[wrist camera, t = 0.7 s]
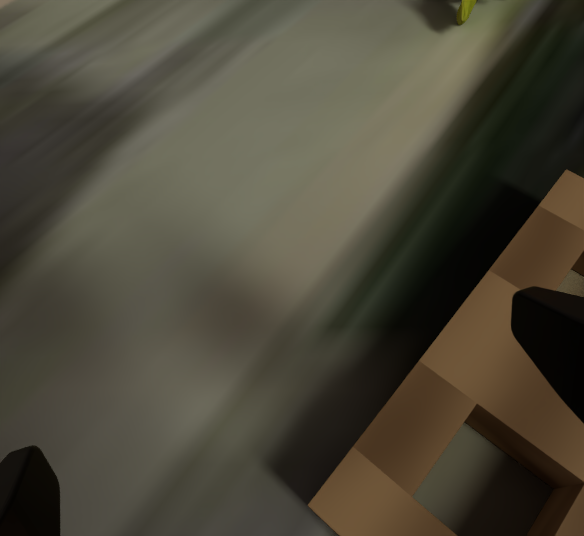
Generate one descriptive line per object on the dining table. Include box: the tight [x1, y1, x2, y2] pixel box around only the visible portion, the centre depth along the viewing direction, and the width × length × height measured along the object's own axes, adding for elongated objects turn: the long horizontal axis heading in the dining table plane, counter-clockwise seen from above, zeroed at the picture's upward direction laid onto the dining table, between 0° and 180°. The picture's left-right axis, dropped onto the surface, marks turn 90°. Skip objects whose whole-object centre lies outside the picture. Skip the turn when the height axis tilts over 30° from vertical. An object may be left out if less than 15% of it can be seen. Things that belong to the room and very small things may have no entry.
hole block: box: [308, 170, 584, 536], centre depth 21 cm, size 10×20×3 cm, turn 139°
